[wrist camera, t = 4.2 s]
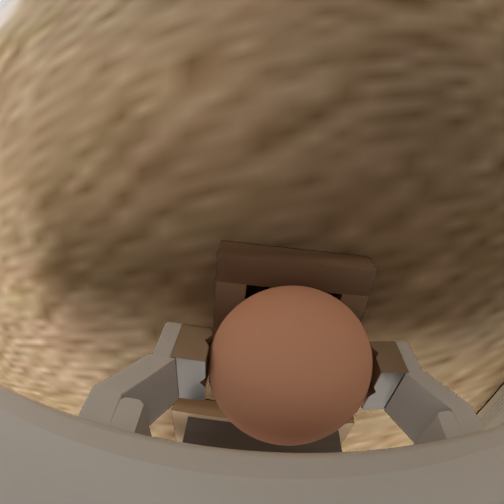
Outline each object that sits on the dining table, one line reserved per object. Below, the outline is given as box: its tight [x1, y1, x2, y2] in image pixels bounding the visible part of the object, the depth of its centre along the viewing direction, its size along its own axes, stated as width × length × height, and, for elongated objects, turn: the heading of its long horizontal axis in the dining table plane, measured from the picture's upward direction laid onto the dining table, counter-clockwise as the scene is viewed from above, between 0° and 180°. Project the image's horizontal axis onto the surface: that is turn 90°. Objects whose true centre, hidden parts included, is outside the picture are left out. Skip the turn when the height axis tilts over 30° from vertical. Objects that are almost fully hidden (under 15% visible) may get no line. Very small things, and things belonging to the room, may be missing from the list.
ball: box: [208, 285, 373, 446], centre depth 9 cm, size 5×5×5 cm
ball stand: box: [213, 241, 377, 339], centre depth 11 cm, size 5×5×1 cm
